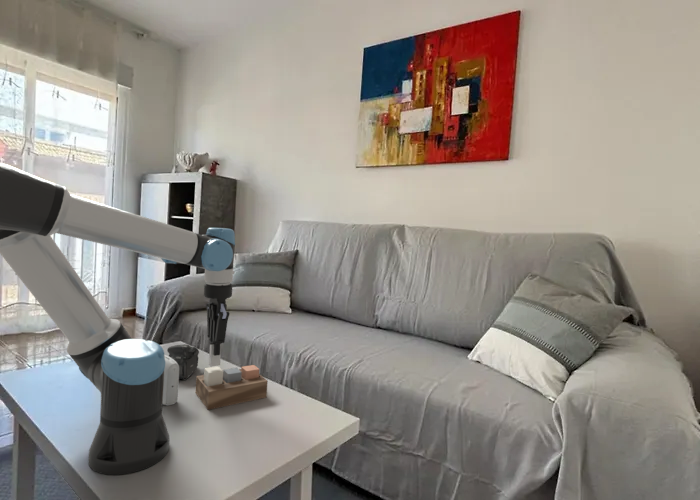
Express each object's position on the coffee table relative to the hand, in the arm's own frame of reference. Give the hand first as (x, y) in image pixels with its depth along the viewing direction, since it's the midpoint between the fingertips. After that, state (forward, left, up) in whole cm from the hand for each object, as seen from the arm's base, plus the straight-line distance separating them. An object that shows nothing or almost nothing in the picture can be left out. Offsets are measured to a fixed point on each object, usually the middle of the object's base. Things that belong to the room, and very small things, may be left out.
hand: (214, 365), depth 113 cm
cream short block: (0, 0, -6) cm, 6 cm away
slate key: (0, -5, -8) cm, 9 cm away
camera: (+22, +3, -10) cm, 25 cm away
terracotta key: (0, -11, -8) cm, 13 cm away
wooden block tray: (0, -5, -10) cm, 11 cm away
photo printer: (+6, +12, -10) cm, 17 cm away
